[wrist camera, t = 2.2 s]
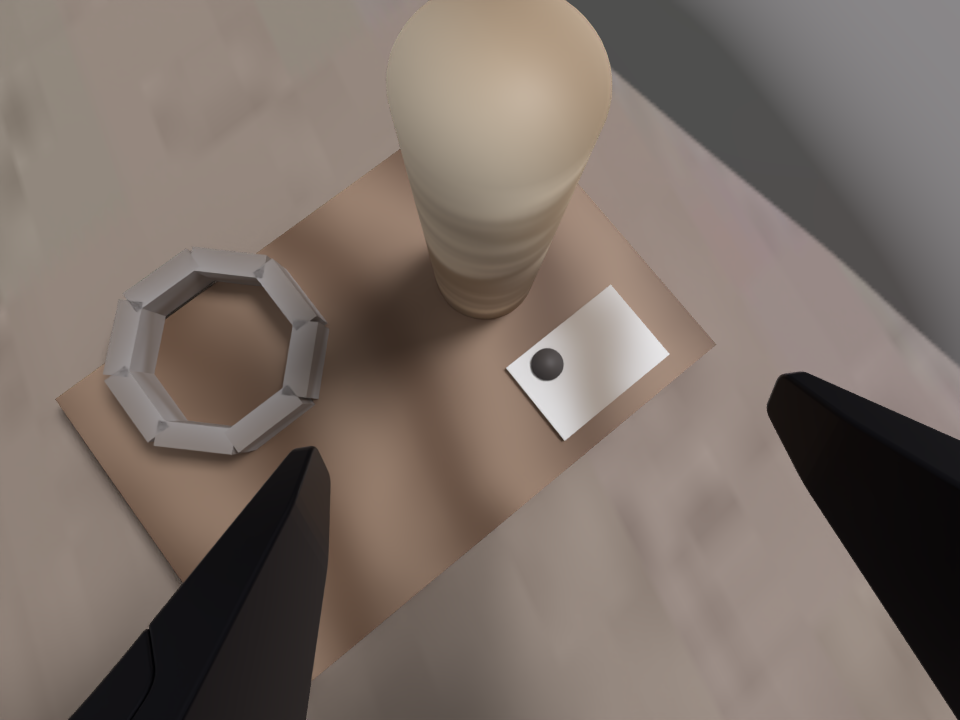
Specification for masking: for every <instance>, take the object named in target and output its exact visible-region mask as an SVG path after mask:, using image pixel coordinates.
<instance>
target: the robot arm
mask: <svg viewBox="0 0 960 720" xmlns="http://www.w3.org/2000/svg"><path fill="white" fill-rule="evenodd" d="M767 413H768V416H769V418H770V420H771V422H772V424H773V426H774V428H775V430H776V432H777V434H778V436H779V438H780V440H781V442H782V444H783V445H784V447H785V449H786V451H787V453H788V455H789V457H790V459H791V461H792V463H793V465H794V467H795V469H796V471H797V473H798V474H799V476H800V478H801V480H802V482H803V483H804V485H805V487H806V488H807V490H808V492H809V493H810V495H811V496H812V498H813V499H814V501H815V502H816V504H817V506H818V507H819V509H820V510H821V512H822V513H823V515H824V516H825V518H826V519H827V521H828V522H829V524H830V525H831V527H832V528H833V530H834V532H835V533H836V535H837V536H838V538H839V539H840V541H841V542H842V544H843V545H844V547H845V548H846V550H847V551H848V553H849V554H850V556H851V558H852V559H853V561H854V562H855V564H856V565H857V567H858V568H859V570H860V571H861V573H862V574H863V576H864V577H865V579H866V580H867V582H868V584H869V585H870V587H871V588H872V590H873V591H874V593H875V594H876V596H877V597H878V599H879V600H880V602H881V603H882V605H883V606H884V608H885V609H886V611H887V613H888V614H889V616H890V617H891V619H892V620H893V622H894V623H895V625H896V626H897V628H898V629H899V631H900V632H901V634H902V635H903V637H904V639H905V640H906V642H907V643H908V645H909V646H910V648H911V649H912V651H913V652H914V654H915V655H916V657H917V658H918V660H919V661H920V663H921V665H922V666H923V668H924V669H925V671H926V672H927V674H928V675H929V677H930V678H931V680H932V681H933V683H934V684H935V686H936V687H937V689H938V690H939V692H940V694H941V695H942V697H943V698H944V700H945V701H946V703H947V704H948V706H949V707H950V709H951V710H952V712H953V713H954V715H955V716H956V718H957V720H960V440H958V439H955V438H953V437H951V436H949V435H946V434H944V433H942V432H940V431H937V430H935V429H933V428H931V427H928V426H926V425H924V424H922V423H919V422H917V421H915V420H913V419H910V418H908V417H906V416H904V415H901V414H899V413H897V412H895V411H892V410H890V409H888V408H885V407H883V406H881V405H879V404H876V403H874V402H872V401H870V400H867V399H865V398H863V397H861V396H858V395H856V394H854V393H852V392H849V391H847V390H845V389H843V388H840V387H838V386H836V385H834V384H831V383H829V382H827V381H825V380H822V379H820V378H818V377H816V376H813V375H811V374H809V373H806V372H793V373H787V374H782V375H781V376H779V377H778V379H777V380H776V383H775V385H774V388H773V390H772V393H771V395H770V398H769V400H768V403H767ZM330 494H331V480H330V475H329V472H328V469H327V467H326V465H325V463H324V461H323V459H322V457H321V455H320V452H319V450H318V449H317V448H316V447H315V446H307V447H301V448H295V449H293V450H292V451H290V453H289V454H288V455H287V456H286V457H285V459H284V460H283V461H282V462H281V464H280V465H279V466H278V467H277V468H276V470H275V471H274V472H273V473H272V475H271V476H270V477H269V478H268V479H267V481H266V482H265V483H264V484H263V486H262V487H261V488H260V489H259V491H258V492H257V493H256V494H255V495H254V497H253V498H252V499H251V500H250V502H249V503H248V504H247V505H246V506H245V508H244V509H243V510H242V511H241V513H240V514H239V515H238V516H237V518H236V519H235V520H234V521H233V522H232V524H231V525H230V526H229V527H228V529H227V530H226V531H225V532H224V533H223V535H222V536H221V537H220V538H219V540H218V541H217V542H216V543H215V544H214V546H213V547H212V548H211V549H210V551H209V552H208V553H207V554H206V556H205V557H204V558H203V559H202V560H201V562H200V563H199V564H198V565H197V567H196V568H195V569H194V570H193V571H192V573H191V574H190V575H189V576H188V578H187V579H186V580H185V581H184V583H183V584H182V585H181V586H180V587H179V589H178V590H177V591H176V592H175V594H174V595H173V596H172V597H171V598H170V600H169V601H168V602H167V603H166V605H165V606H164V607H163V608H162V609H161V611H160V612H159V613H158V614H157V616H156V617H155V618H154V619H153V621H152V622H151V623H150V625H149V629H146V630H144V631H143V633H142V634H141V635H140V636H139V637H138V639H137V640H136V641H135V642H134V644H133V645H132V646H131V647H130V648H129V650H128V651H127V652H126V653H125V655H124V656H123V657H122V658H121V659H120V660H119V662H118V663H117V664H116V665H115V666H114V668H113V669H112V670H111V671H110V672H109V674H108V675H107V676H106V677H105V678H104V679H103V681H102V682H101V683H100V684H99V685H98V687H97V688H96V689H95V690H94V691H93V692H92V694H91V695H90V696H89V697H88V698H87V699H86V700H85V701H84V702H83V704H82V705H81V706H80V707H79V708H78V709H77V710H76V711H75V712H74V714H73V715H72V716H71V717H70V718H69V719H68V720H306V714H307V707H308V700H309V693H310V687H311V680H312V673H313V666H314V659H315V652H316V645H317V638H318V631H319V624H320V617H321V610H322V603H323V596H324V589H325V583H326V576H327V568H328V558H329V530H330Z"/></svg>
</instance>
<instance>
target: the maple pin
mask: <svg viewBox="0 0 960 720" xmlns="http://www.w3.org/2000/svg"><path fill="white" fill-rule="evenodd" d="M386 91H387V99H388V104H389V108H390V112H391V116H392V119H393V123H394V127H395V130H396V134H397V138H398V142H399V145H400V149H401V153H402V156H403V160H404V164H405V167H406V171H407V175H408V178H409V182H410V186H411V189H412V193H413V197H414V200H415V204H416V208H417V211H418V215H419V219H420V222H421V226H422V230H423V233H424V237H425V241H426V244H427V248H428V252H429V256H430V259H431V263H432V267H433V270H434V274H435V278H436V281H437V285H438V288H439V290H440V292H441V294H442V296H443V298H444V299H445V300H446V302H447V303H448V304H449V305H450V306H451V307H452V308H454V309H455V310H456V311H458V312H459V313H461V314H463V315H465V316H468V317H471V318H475V319H494V318H499V317H502V316H504V315H506V314H508V313H510V312H512V311H513V310H515V309H516V308H517V307H518V306H519V305H520V304H521V303H522V302H523V301H524V299H525V298H526V296H527V295H528V293H529V291H530V288H531V286H532V284H533V282H534V280H535V277H536V275H537V273H538V271H539V268H540V266H541V264H542V262H543V259H544V257H545V255H546V253H547V251H548V248H549V246H550V244H551V242H552V239H553V237H554V235H555V233H556V230H557V228H558V226H559V224H560V221H561V219H562V217H563V215H564V213H565V210H566V208H567V206H568V204H569V201H570V199H571V197H572V195H573V192H574V190H575V188H576V186H577V184H578V181H579V179H580V177H581V175H582V172H583V170H584V168H585V166H586V163H587V161H588V159H589V157H590V155H591V152H592V150H593V148H594V146H595V143H596V141H597V139H598V137H599V134H600V132H601V130H602V128H603V125H604V123H605V121H606V118H607V115H608V112H609V108H610V103H611V97H612V75H611V67H610V63H609V60H608V56H607V53H606V51H605V48H604V46H603V43H602V41H601V39H600V38H599V36H598V34H597V33H596V31H595V29H594V28H593V27H592V25H591V24H590V23H589V22H588V20H587V19H586V18H585V17H584V16H583V15H582V14H581V13H580V12H579V11H578V10H577V9H576V8H575V7H573V6H572V5H571V4H569V3H568V2H567V1H565V0H430V1H428V2H427V3H426V4H425V5H423V6H422V7H421V8H420V9H419V10H418V11H417V12H416V13H415V14H414V15H413V16H412V17H411V18H410V19H409V20H408V22H407V23H406V24H405V26H404V27H403V28H402V30H401V31H400V33H399V35H398V37H397V39H396V41H395V43H394V45H393V48H392V51H391V53H390V57H389V61H388V66H387V74H386Z"/></svg>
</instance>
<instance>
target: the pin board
mask: <svg viewBox="0 0 960 720" xmlns="http://www.w3.org/2000/svg"><path fill="white" fill-rule="evenodd" d="M214 281H217V282H216V283H215V284H213V285H212V286H211V287H209V288H208V289H206V290H205V291H204V292H202V293H201V294H199V295H198V296H197V297H195V298H194V299H193V300H191V301H190V302H188V303H187V304H186V305H184V306H183V307H182V308H180V309H179V310H177V311H176V312H175V313H173V314H172V315H171V316H169V317H168V318H166V316H167V315H168V314H170V313H171V312H172V311H174V310H175V309H176V308H178V307H179V306H181V305H182V304H183V303H185V302H186V301H188V300H189V299H190V298H192V297H193V296H194V295H196V294H197V293H199V292H200V291H201V290H203V289H204V288H205V287H207V286H208V285H210V284H211V283H212V282H214ZM123 295H124V296H125V298H126V299H127V300H121V299H119V300H118V305H117V310H116V314H115V319H114V324H113V329H112V333H111V338H110V343H109V347H108V352H107V357H106V361H105V363H104V364H103V365H102V366H100V367H99V368H97V369H96V370H95V371H93V372H92V373H91V374H89V375H88V376H86V377H85V378H84V379H82V380H81V381H79V382H78V383H77V384H75V385H74V386H73V387H71V388H70V389H68V390H67V391H66V392H64V393H63V394H62V395H60V396H59V397H57V398H56V401H57V402H58V404H59V405H60V407H61V408H62V410H63V411H64V412H65V414H66V415H67V417H68V418H69V420H70V421H71V423H72V424H73V425H74V427H75V428H76V430H77V431H78V433H79V434H80V435H81V437H82V438H83V440H84V441H85V443H86V444H87V446H88V447H89V448H90V450H91V451H92V453H93V454H94V456H95V457H96V458H97V460H98V461H99V463H100V464H101V466H102V467H103V469H104V470H105V471H106V473H107V474H108V476H109V477H110V479H111V480H112V482H113V483H114V484H115V486H116V487H117V489H118V490H119V492H120V493H121V494H122V496H123V497H124V499H125V500H126V502H127V503H128V505H129V506H130V507H131V509H132V510H133V512H134V513H135V515H136V516H137V517H138V519H139V520H140V522H141V523H142V525H143V526H144V528H145V529H146V530H147V532H148V533H149V535H150V536H151V538H152V539H153V541H154V542H155V543H156V545H157V546H158V548H159V549H160V551H161V552H162V553H163V555H164V556H165V558H166V559H167V561H168V562H169V564H170V565H171V566H172V568H173V569H174V571H175V572H176V574H177V575H178V576H179V578H180V579H181V581H182V582H183V583H184V581H185V580H186V579H187V578H188V576H189V575H190V574H191V573H192V571H193V570H194V569H195V568H196V567H197V565H198V564H199V563H200V562H201V560H202V559H203V558H204V557H205V556H206V554H207V553H208V552H209V551H210V549H211V548H212V547H213V546H214V544H215V543H216V542H217V541H218V540H219V538H220V537H221V536H222V535H223V533H224V532H225V531H226V530H227V529H228V527H229V526H230V525H231V524H232V522H233V521H234V520H235V519H236V518H237V516H238V515H239V514H240V513H241V511H242V510H243V509H244V508H245V506H246V505H247V504H248V503H249V502H250V500H251V499H252V498H253V497H254V495H255V494H256V493H257V492H258V491H259V489H260V488H261V487H262V486H263V484H264V483H265V482H266V481H267V479H268V478H269V477H270V476H271V475H272V473H273V472H274V471H275V470H276V468H277V467H278V466H279V465H280V464H281V462H282V461H283V460H284V459H285V457H286V456H287V455H288V454H289V453H290V451H292V450H293V449H295V448H301V447H307V446H315V447H316V448H317V449H318V450H319V452H320V455H321V457H322V459H323V461H324V463H325V465H326V467H327V469H328V472H329V475H330V480H331V494H330V530H329V558H328V568H327V576H326V583H325V589H324V596H323V603H322V610H321V617H320V624H319V631H318V638H317V645H316V652H315V659H314V666H313V673H312V680H314V679H315V678H316V677H317V676H318V675H320V674H321V673H322V672H323V671H324V670H326V669H327V668H328V667H329V666H330V665H332V664H333V663H334V662H335V661H336V660H338V659H339V658H340V657H341V656H342V655H344V654H345V653H346V652H347V651H348V650H350V649H351V648H352V647H353V646H354V645H356V644H357V643H358V642H359V641H360V640H362V639H363V638H364V637H365V636H366V635H368V634H369V633H370V632H371V631H372V630H374V629H375V628H376V627H377V626H378V625H380V624H381V623H382V622H383V621H384V620H386V619H387V618H388V617H389V616H391V615H392V614H393V613H394V612H395V611H397V610H398V609H399V608H400V607H401V606H403V605H404V604H405V603H406V602H407V601H409V600H410V599H411V598H412V597H413V596H415V595H416V594H417V593H418V592H419V591H421V590H422V589H423V588H424V587H425V586H427V585H428V584H429V583H430V582H431V581H433V580H434V579H435V578H436V577H437V576H439V575H440V574H441V573H442V572H443V571H445V570H446V569H447V568H448V567H449V566H451V565H452V564H453V563H454V562H455V561H457V560H458V559H459V558H460V557H461V556H463V555H464V554H465V553H466V552H467V551H469V550H470V549H471V548H472V547H473V546H475V545H476V544H477V543H478V542H479V541H481V540H482V539H483V538H484V537H485V536H487V535H488V534H489V533H490V532H492V531H493V530H494V529H495V528H496V527H498V526H499V525H500V524H501V523H502V522H504V521H505V520H506V519H507V518H508V517H510V516H511V515H512V514H513V513H514V512H516V511H517V510H518V509H519V508H520V507H522V506H523V505H524V504H525V503H526V502H528V501H529V500H530V499H531V498H532V497H534V496H535V495H536V494H537V493H538V492H540V491H541V490H542V489H543V488H544V487H546V486H547V485H548V484H549V483H550V482H552V481H553V480H554V479H555V478H556V477H558V476H559V475H560V474H561V473H562V472H564V471H565V470H566V469H567V468H568V467H570V466H571V465H572V464H573V463H574V462H576V461H577V460H578V459H579V458H580V457H582V456H583V455H584V454H585V453H586V452H588V451H589V450H590V449H591V448H593V447H594V446H595V445H596V444H597V443H599V442H600V441H601V440H602V439H603V438H605V437H606V436H607V435H608V434H609V433H611V432H612V431H613V430H614V429H615V428H617V427H618V426H619V425H620V424H621V423H623V422H624V421H625V420H626V419H627V418H629V417H630V416H631V415H632V414H633V413H635V412H636V411H637V410H638V409H639V408H641V407H642V406H643V405H644V404H645V403H647V402H648V401H649V400H650V399H651V398H653V397H654V396H655V395H656V394H657V393H659V392H660V391H661V390H662V389H663V388H665V387H666V386H667V385H668V384H669V383H671V382H672V381H673V380H674V379H675V378H677V377H678V376H679V375H680V374H681V373H683V372H684V371H685V370H686V369H687V368H689V367H690V366H691V365H692V364H694V363H695V362H696V361H697V360H698V359H700V358H701V357H702V356H703V355H704V354H706V353H707V352H708V351H709V350H710V349H712V348H713V347H714V346H715V345H716V344H715V343H714V341H713V340H712V339H711V338H710V337H709V336H708V334H707V333H706V332H705V331H704V330H703V329H702V327H701V326H700V325H699V324H698V323H697V322H696V320H695V319H694V318H693V317H692V316H691V315H690V313H689V312H688V311H687V310H686V309H685V308H684V306H683V305H682V304H681V303H680V302H679V301H678V299H677V298H676V297H675V296H674V295H673V294H672V293H671V291H670V290H669V289H668V288H667V287H666V286H665V284H664V283H663V282H662V281H661V280H660V279H659V277H658V276H657V275H656V274H655V273H654V272H653V270H652V269H651V268H650V267H649V266H648V265H647V263H646V262H645V261H644V260H643V259H642V258H641V256H640V255H639V254H638V253H637V252H636V251H635V249H634V248H633V247H632V246H631V245H630V244H629V242H628V241H627V240H626V239H625V238H624V237H623V235H622V234H621V233H620V232H619V231H618V230H617V229H616V227H615V226H614V225H613V224H612V223H611V222H610V220H609V219H608V218H607V217H606V216H605V215H604V213H603V212H602V211H601V210H600V209H599V208H598V206H597V205H596V204H595V203H594V202H593V201H592V199H591V198H590V197H589V196H588V195H587V194H586V192H585V191H584V190H583V189H582V188H581V187H580V185H579V184H577V186H576V188H575V190H574V192H573V195H572V197H571V199H570V201H569V204H568V206H567V208H566V210H565V213H564V215H563V217H562V219H561V221H560V224H559V226H558V228H557V230H556V233H555V235H554V237H553V239H552V242H551V244H550V246H549V248H548V251H547V253H546V255H545V257H544V259H543V262H542V264H541V266H540V268H539V271H538V273H537V275H536V277H535V280H534V282H533V284H532V286H531V288H530V291H529V293H528V295H527V296H526V298H525V299H524V301H523V302H522V303H521V304H520V305H519V306H518V307H517V308H516V309H515V310H513V311H512V312H510V313H508V314H506V315H504V316H502V317H499V318H494V319H475V318H471V317H468V316H465V315H463V314H461V313H459V312H458V311H456V310H455V309H454V308H452V307H451V306H450V305H449V304H448V303H447V302H446V300H445V299H444V298H443V296H442V294H441V292H440V290H439V288H438V285H437V281H436V278H435V274H434V270H433V267H432V263H431V259H430V256H429V252H428V248H427V244H426V241H425V237H424V233H423V230H422V226H421V222H420V219H419V215H418V211H417V208H416V204H415V200H414V197H413V193H412V189H411V186H410V182H409V178H408V175H407V171H406V167H405V164H404V160H403V156H402V153H401V149H399V150H398V151H397V152H395V153H394V154H393V155H391V156H390V157H388V158H387V159H386V160H384V161H383V162H382V163H380V164H379V165H377V166H376V167H375V168H373V169H372V170H371V171H369V172H368V173H366V174H365V175H364V176H362V177H361V178H359V179H358V180H357V181H355V182H354V183H353V184H351V185H350V186H348V187H347V188H346V189H344V190H343V191H342V192H340V193H339V194H337V195H336V196H335V197H333V198H332V199H331V200H329V201H328V202H326V203H325V204H324V205H322V206H321V207H319V208H318V209H317V210H315V211H314V212H313V213H311V214H310V215H308V216H307V217H306V218H304V219H303V220H302V221H300V222H299V223H297V224H296V225H295V226H293V227H292V228H291V229H289V230H288V231H286V232H285V233H284V234H282V235H281V236H279V237H278V238H277V239H275V240H274V241H273V242H271V243H270V244H268V245H267V246H266V247H264V248H263V249H262V250H260V251H259V252H257V253H256V254H252V253H243V252H235V251H226V250H217V249H208V248H200V247H192V252H191V251H189V250H188V249H184V250H183V251H182V252H180V253H179V254H177V255H176V256H175V257H173V258H172V259H170V260H169V261H168V262H166V263H165V264H163V265H162V266H161V267H159V268H158V269H156V270H155V271H154V272H152V273H151V274H149V275H148V276H147V277H145V278H144V279H142V280H141V281H140V282H138V283H137V284H135V285H134V286H132V287H131V288H130V289H128V290H127V291H125V292H124V293H123ZM165 318H166V319H165ZM312 680H311V681H312Z"/></svg>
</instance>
